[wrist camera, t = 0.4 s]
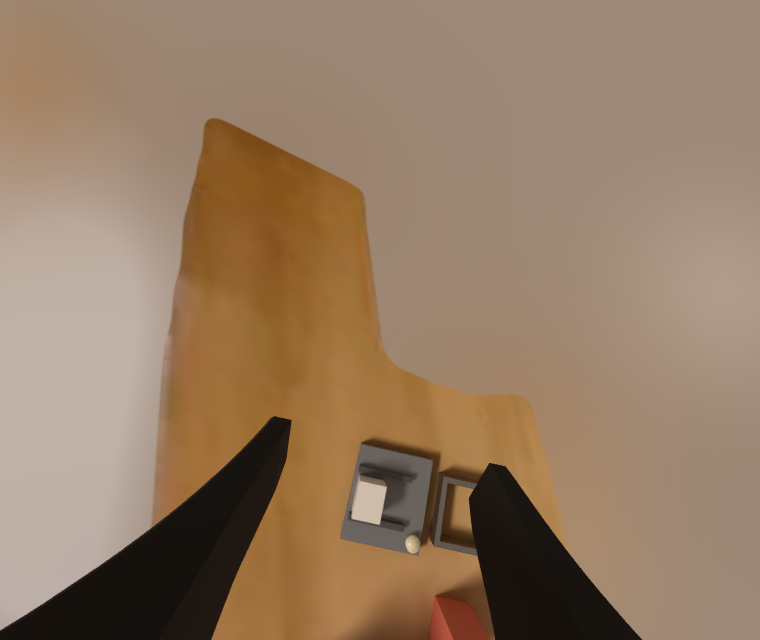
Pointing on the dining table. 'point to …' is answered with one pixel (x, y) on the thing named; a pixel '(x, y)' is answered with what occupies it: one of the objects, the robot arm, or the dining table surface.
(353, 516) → the switch
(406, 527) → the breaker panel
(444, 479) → the frame
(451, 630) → the peg
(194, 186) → the dining table surface
